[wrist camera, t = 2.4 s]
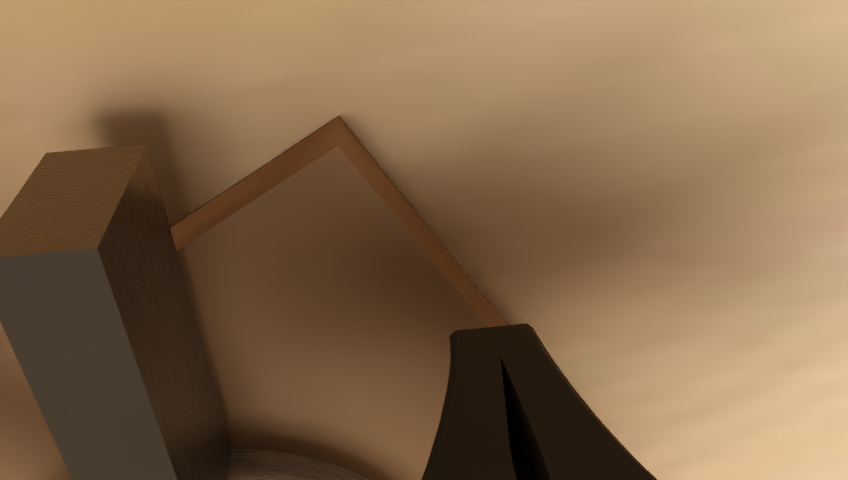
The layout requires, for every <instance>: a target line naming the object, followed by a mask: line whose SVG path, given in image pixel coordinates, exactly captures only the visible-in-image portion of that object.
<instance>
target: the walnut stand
mask: <svg viewBox="0 0 848 480" xmlns="http://www.w3.org/2000/svg"><path fill="white" fill-rule="evenodd" d="M170 229H171V233H172V236H173V240H174V243H175V247H176V250H177V254H178V258H179V261H180V265H181V268H182V272H183V275H184V279H185V283H186V286H187V290H188V293H189V297H190V300H191V304H192V307H193V311H194V315H195V318H196V322H197V325H198V329H199V332H200V336H201V340H202V343H203V347H204V350H205V354H206V357H207V361H208V364H209V368H210V372H211V375H212V379H213V382H214V386H215V389H216V393H217V397H218V400H219V404H220V407H221V411H222V414H223V418H224V421H225V425H226V429H227V432H228V436H229V439H230V443H231V446H232V448H244V449H261V450H269V451H276V452H284V453H290V454H295V455H299V456H304V457H308V458H313V459H317V460H320V461H323V462H326V463H329V464H332V465H336V466H339V467H342V468H345V469H347V470H349V471H351V472H354V473H356V474H358V475H360V476H363V477H365V478H367V479H369V480H421V479H422V477H423V474H424V471H425V468H426V465H427V462H428V459H429V456H430V453H431V449H432V446H433V443H434V439H435V436H436V433H437V430H438V426H439V422H440V418H441V413H442V409H443V404H444V400H445V395H446V390H447V384H448V378H449V371H450V359H451V355H450V338H449V336H450V335H451V334H452V333H453V332H454V331H456V330H464V329H474V328H485V327H496V326H507V324H506V323H505V322H504V320H503V319H502V318H501V317H500V316H499V314H498V313H497V312H496V311H495V309H494V308H493V307H492V306H491V304H490V303H489V302H488V301H487V299H486V298H485V297H484V296H483V294H482V293H481V292H480V291H479V289H478V288H477V287H476V286H475V284H474V283H473V282H472V281H471V279H470V278H469V277H468V276H467V275H466V273H465V272H464V271H463V270H462V268H461V267H460V266H459V265H458V263H457V262H456V261H455V260H454V258H453V257H452V256H451V255H450V253H449V252H448V251H447V250H446V248H445V247H444V246H443V245H442V243H441V242H440V241H439V240H438V238H437V237H436V236H435V235H434V233H433V232H432V231H431V230H430V229H429V227H428V226H427V225H426V224H425V222H424V221H423V220H422V219H421V217H420V216H419V215H418V214H417V212H416V211H415V210H414V209H413V207H412V206H411V205H410V204H409V202H408V201H407V200H406V199H405V197H404V196H403V195H402V194H401V192H400V191H399V190H398V189H397V188H396V186H395V185H394V184H393V183H392V181H391V180H390V179H389V178H388V176H387V175H386V174H385V173H384V171H383V170H382V169H381V168H380V166H379V165H378V164H377V163H376V161H375V160H374V159H373V158H372V156H371V155H370V154H369V153H368V151H367V150H366V149H365V148H364V146H363V145H362V144H361V143H360V142H359V140H358V139H357V138H356V137H355V135H354V134H353V133H352V132H351V130H350V129H349V128H348V127H347V125H346V124H345V123H344V122H343V120H342V119H341V118H340V117H339V116H338V117H337V118H335V119H334V120H332V121H331V122H329V123H328V124H326V125H325V126H323V127H322V128H320V129H319V130H317V131H316V132H314V133H313V134H311V135H310V136H308V137H307V138H305V139H304V140H302V141H301V142H299V143H298V144H296V145H295V146H293V147H291V148H290V149H288V150H287V151H285V152H284V153H282V154H281V155H279V156H278V157H276V158H275V159H273V160H272V161H270V162H269V163H267V164H266V165H264V166H263V167H261V168H260V169H258V170H257V171H255V172H254V173H252V174H251V175H249V176H248V177H246V178H245V179H243V180H242V181H240V182H239V183H237V184H236V185H234V186H233V187H231V188H230V189H228V190H227V191H225V192H224V193H222V194H221V195H219V196H218V197H216V198H215V199H213V200H212V201H210V202H209V203H207V204H206V205H204V206H203V207H201V208H200V209H198V210H197V211H195V212H194V213H192V214H191V215H189V216H188V217H186V218H185V219H183V220H182V221H180V222H179V223H177V224H176V225H174V226H173V227H171V228H170ZM0 480H72V479H71V476H70V474H69V472H68V470H67V468H66V465H65V463H64V461H63V459H62V457H61V454H60V452H59V450H58V448H57V446H56V443H55V441H54V439H53V437H52V435H51V432H50V430H49V428H48V426H47V423H46V421H45V419H44V417H43V415H42V412H41V410H40V408H39V406H38V404H37V401H36V399H35V397H34V395H33V393H32V390H31V388H30V386H29V384H28V382H27V379H26V377H25V375H24V373H23V371H22V368H21V366H20V364H19V362H18V360H17V357H16V355H15V353H14V351H13V349H12V346H11V344H10V342H9V340H8V338H7V335H6V333H5V331H4V329H3V327H2V324H1V322H0Z"/></svg>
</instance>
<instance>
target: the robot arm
mask: <svg viewBox="0 0 848 480" xmlns="http://www.w3.org/2000/svg"><path fill="white" fill-rule="evenodd" d="M449 338H450V355H451V359H450V371H449V378H448V384H447V390H446V395H445V400H444V404H443V409H442V413H441V418H440V422H439V426H438V430H437V433H436V436H435V439H434V443H433V446H432V449H431V453H430V456H429V459H428V462H427V465H426V468H425V471H424V474H423V477H422V479H421V480H657V479H656V478H655V477H654V476H653V475H652V474H651V473H650V472H649V471H647V470H646V469H645V468H644V467H643V466H642V465H641V464H640V463H639V462H638V461H637V460H636V459H635V458H634V457H633V456H632V455H631V454H630V453H629V452H628V451H627V449H626V448H625V447H624V446H623V445H622V444H621V443H620V442H619V441H618V440H617V439H616V438H615V437H614V435H613V434H612V433H611V432H610V431H609V430H608V429H607V428H606V427H605V425H604V424H603V423H602V422H601V421H600V420H599V419H598V417H597V416H596V415H595V414H594V413H593V411H592V410H591V409H590V408H589V406H588V405H587V404H586V403H585V401H584V400H583V399H582V398H581V397H580V395H579V394H578V393H577V392H576V390H575V389H574V388H573V386H572V385H571V384H570V383H569V381H568V380H567V379H566V377H565V376H564V374H563V373H562V372H561V370H560V369H559V367H558V366H557V365H556V363H555V362H554V360H553V359H552V357H551V356H550V355H549V353H548V352H547V350H546V348H545V347H544V345H543V344H542V342H541V341H540V339H539V337H538V336H537V334H536V332H535V330H534V329H533V328H532V327H531V326H530V325H528V324H517V325H507V326H496V327H485V328H474V329H464V330H456V331H454V332H453V333H452V334H451V335H450V336H449Z"/></svg>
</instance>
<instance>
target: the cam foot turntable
mask: <svg viewBox="0 0 848 480" xmlns="http://www.w3.org/2000/svg"><path fill="white" fill-rule="evenodd" d="M0 322H1V324H2V327H3V329H4V331H5V333H6V335H7V338H8V340H9V342H10V344H11V346H12V349H13V351H14V353H15V355H16V357H17V360H18V362H19V364H20V366H21V368H22V371H23V373H24V375H25V377H26V379H27V382H28V384H29V386H30V388H31V390H32V393H33V395H34V397H35V399H36V401H37V404H38V406H39V408H40V410H41V412H42V415H43V417H44V419H45V421H46V423H47V426H48V428H49V430H50V432H51V435H52V437H53V439H54V441H55V443H56V446H57V448H58V450H59V452H60V454H61V457H62V459H63V461H64V463H65V465H66V468H67V470H68V472H69V474H70V476H71V479H72V480H369V479H367V478H365V477H363V476H360V475H358V474H356V473H354V472H351V471H349V470H347V469H345V468H342V467H339V466H336V465H332V464H329V463H326V462H323V461H320V460H317V459H313V458H308V457H304V456H299V455H295V454H290V453H284V452H276V451H269V450H261V449H244V448H232V446H231V443H230V439H229V436H228V432H227V429H226V425H225V421H224V418H223V414H222V411H221V407H220V404H219V400H218V397H217V393H216V389H215V386H214V382H213V379H212V375H211V372H210V368H209V364H208V361H207V357H206V354H205V350H204V347H203V343H202V340H201V336H200V332H199V329H198V325H197V322H196V318H195V315H194V311H193V307H192V304H191V300H190V297H189V293H188V290H187V286H186V283H185V279H184V275H183V272H182V268H181V265H180V261H179V258H178V254H177V250H176V247H175V243H174V240H173V236H172V233H171V229H170V226H169V222H168V218H167V215H166V211H165V208H164V204H163V201H162V197H161V193H160V190H159V186H158V183H157V179H156V176H155V172H154V169H153V165H152V161H151V158H150V154H149V151H148V147H147V144H144V145H132V146H121V147H110V148H98V149H87V150H76V151H64V152H53V153H46V154H45V155H44V157H43V158H42V160H41V161H40V163H39V164H38V166H37V167H36V168H35V170H34V171H33V173H32V174H31V176H30V177H29V179H28V180H27V181H26V183H25V184H24V186H23V187H22V189H21V190H20V192H19V193H18V194H17V196H16V197H15V199H14V200H13V202H12V203H11V205H10V206H9V207H8V209H7V210H6V212H5V213H4V215H3V216H2V218H1V219H0Z"/></svg>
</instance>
